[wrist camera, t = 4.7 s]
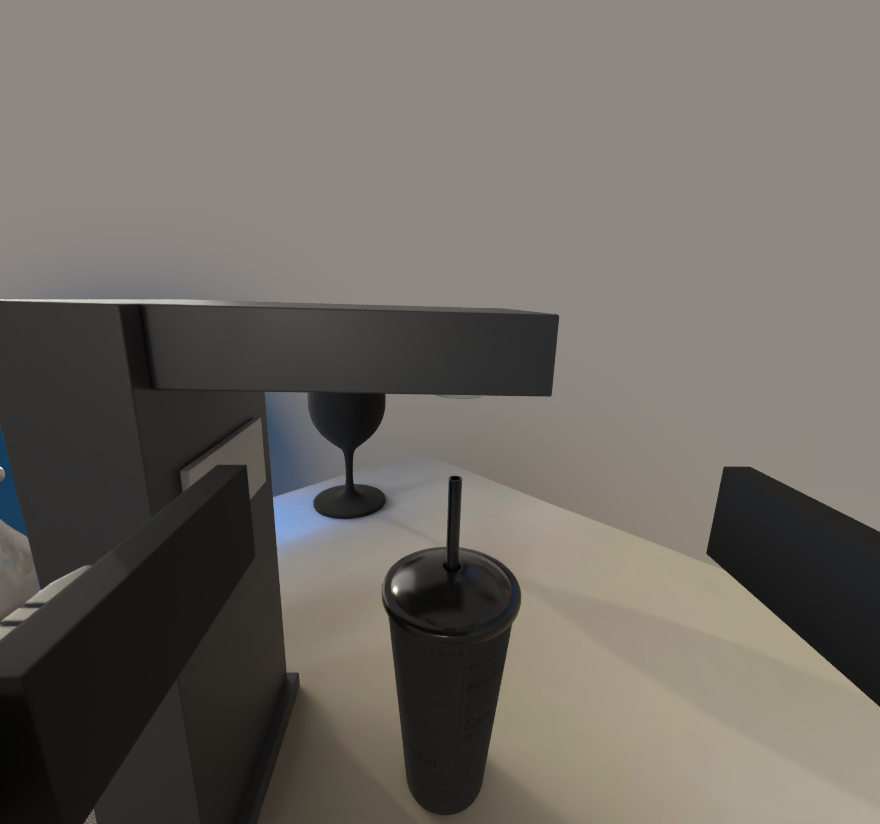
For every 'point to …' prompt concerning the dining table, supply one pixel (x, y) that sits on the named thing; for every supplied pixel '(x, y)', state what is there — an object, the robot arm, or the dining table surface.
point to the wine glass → (347, 448)
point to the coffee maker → (193, 455)
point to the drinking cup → (448, 661)
